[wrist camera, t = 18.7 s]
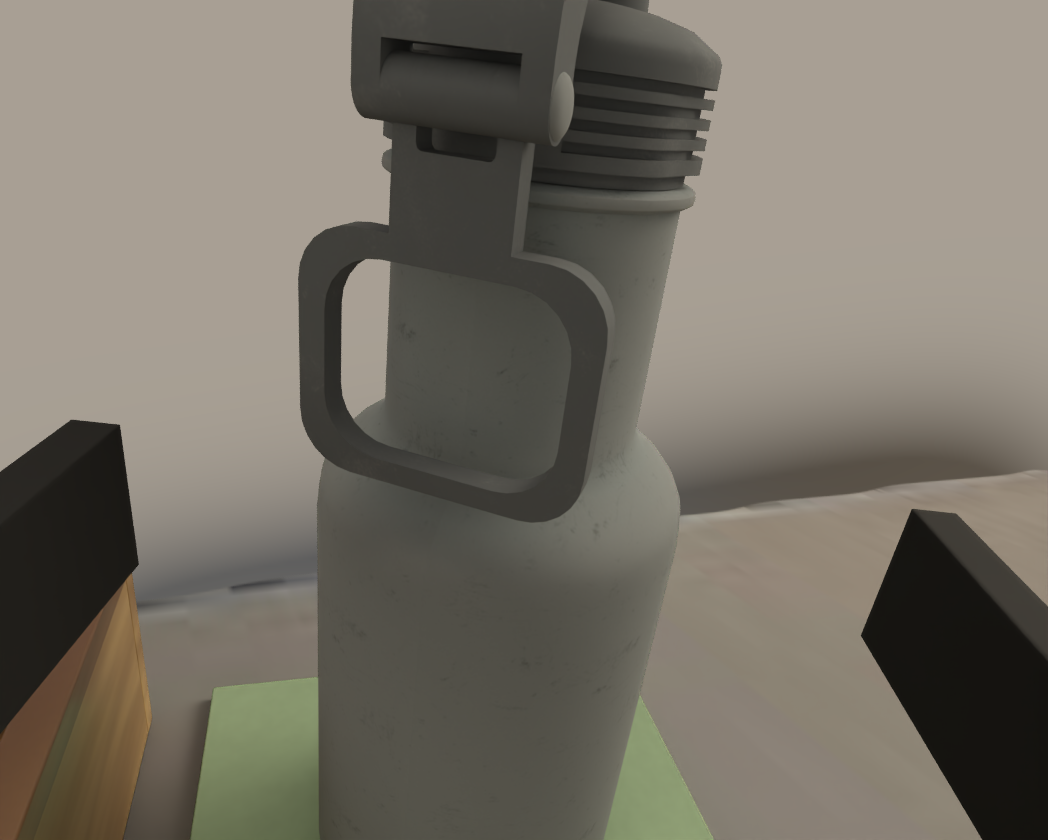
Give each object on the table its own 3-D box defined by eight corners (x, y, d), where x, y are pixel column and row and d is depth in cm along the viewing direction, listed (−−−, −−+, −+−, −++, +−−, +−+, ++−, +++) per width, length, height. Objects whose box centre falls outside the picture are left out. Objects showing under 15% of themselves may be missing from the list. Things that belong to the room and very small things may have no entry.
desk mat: (613, 655, 35) (615, 645, 35) (808, 1043, 21) (814, 1032, 21) (213, 697, 30) (213, 687, 30) (131, 1241, 16) (128, 1230, 16)
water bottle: (547, 1055, 20) (872, -273, 8) (247, 911, 22) (161, -271, 10) (623, 765, 29) (830, -68, 17) (403, 684, 31) (451, -93, 19)
